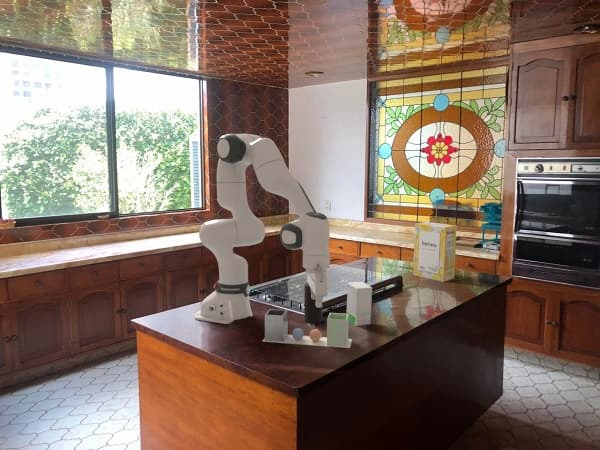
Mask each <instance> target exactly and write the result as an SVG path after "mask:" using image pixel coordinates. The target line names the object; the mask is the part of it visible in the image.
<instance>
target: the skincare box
mask: <svg viewBox="0 0 600 450" xmlns="http://www.w3.org/2000/svg"><path fill="white" fill-rule="evenodd" d="M346 290H347V291H346V292H347V294H346V295H347V296H346V297H347V298H346V313H345V314H348V324H352V325H354V326H355V327H357V326H366V325H367V326H368V325H371V314H372V300H373V299H372V296H373V287H372V286H370V285H369V284H368V283H365V282H363V281H353V282H352V281H351V282H347V289H346Z"/></svg>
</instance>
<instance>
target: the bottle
mask: <svg viewBox="0 0 600 450" xmlns="http://www.w3.org/2000/svg"><path fill="white" fill-rule="evenodd" d="M303 290H304V295H303V296H304V304H303V305H304V309H303V310H304V311H303V312H304V313H303V314H304V316H303V318H304V320H303V321H304V322H305V323H307V324H320V323H322V322H323V306H322V307H320V308H317V307H316V299H314V300H313V299H312V298H311V288H310V286H309V284H308V282H307V281H306V283H305V284H304V289H303Z"/></svg>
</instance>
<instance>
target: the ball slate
mask: <svg viewBox="0 0 600 450" xmlns="http://www.w3.org/2000/svg"><path fill="white" fill-rule="evenodd" d="M291 335H292V336H293V338H294V339H296V340H300V339H302V338H303V336H305V333H304V330H303V329H302V328H301V327H296V328H294V329H293V330H292V333H291Z"/></svg>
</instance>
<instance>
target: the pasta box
mask: <svg viewBox="0 0 600 450" xmlns="http://www.w3.org/2000/svg"><path fill="white" fill-rule="evenodd" d="M457 226H458V225H456V224H455V225H454V224H449V223H448V224H446V223H438V222H429V221H424V222H418V223H417V222H416V223H414V242H413V243H414V246H413V247H414V249H413V270H412V271H413V274H412V275H413V276H415V277H420V278H424V279H429V280H434V281H437V282H447V281H451V280H454V279H455V275H456V274H455V273H456V271H455V270H456V253H457V252H456V250H457V232H458V231H457V230H458V229H457V228H458V227H457Z"/></svg>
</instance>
